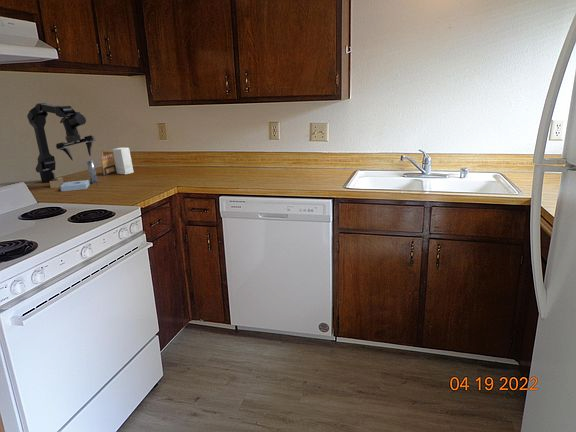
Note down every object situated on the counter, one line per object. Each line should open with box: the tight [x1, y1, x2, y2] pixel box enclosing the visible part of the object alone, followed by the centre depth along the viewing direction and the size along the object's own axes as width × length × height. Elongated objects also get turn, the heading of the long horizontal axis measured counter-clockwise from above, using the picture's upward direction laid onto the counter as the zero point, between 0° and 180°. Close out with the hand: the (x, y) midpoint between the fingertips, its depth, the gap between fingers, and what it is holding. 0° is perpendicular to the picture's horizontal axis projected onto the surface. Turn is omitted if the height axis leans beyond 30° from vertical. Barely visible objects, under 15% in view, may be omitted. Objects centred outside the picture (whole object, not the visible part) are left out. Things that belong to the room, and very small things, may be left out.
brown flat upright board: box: [100, 153, 117, 177], centre depth 257 cm, size 11×2×12 cm, turn 165°
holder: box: [60, 179, 91, 192], centre depth 224 cm, size 12×12×2 cm
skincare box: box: [112, 147, 134, 175], centre depth 257 cm, size 8×7×16 cm
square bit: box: [48, 177, 65, 189], centre depth 231 cm, size 9×4×4 cm, turn 11°
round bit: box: [86, 159, 99, 185], centre depth 233 cm, size 4×4×12 cm
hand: (81, 158), depth 225 cm, fingers open, 9 cm apart
